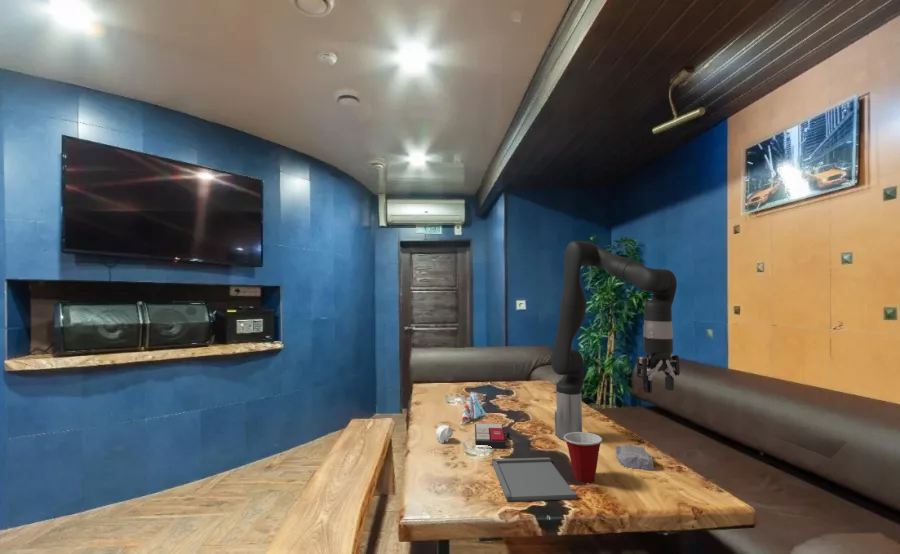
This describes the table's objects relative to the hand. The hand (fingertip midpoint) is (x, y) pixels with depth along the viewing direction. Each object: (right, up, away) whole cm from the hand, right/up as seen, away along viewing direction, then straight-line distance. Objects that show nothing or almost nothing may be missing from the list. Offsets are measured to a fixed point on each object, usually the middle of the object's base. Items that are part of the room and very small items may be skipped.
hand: (658, 391), depth 104 cm
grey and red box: (-46, -29, +29) cm, 62 cm away
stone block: (-2, -27, +12) cm, 30 cm away
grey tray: (-38, -26, 0) cm, 46 cm away
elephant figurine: (-64, -28, +28) cm, 75 cm away
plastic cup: (-22, -26, +1) cm, 34 cm away
